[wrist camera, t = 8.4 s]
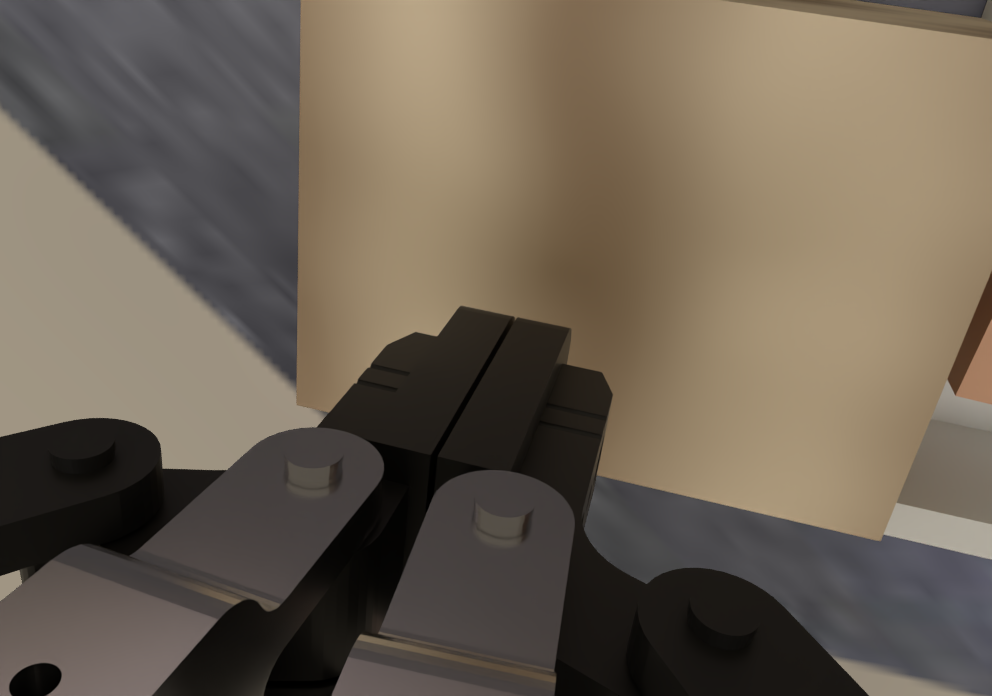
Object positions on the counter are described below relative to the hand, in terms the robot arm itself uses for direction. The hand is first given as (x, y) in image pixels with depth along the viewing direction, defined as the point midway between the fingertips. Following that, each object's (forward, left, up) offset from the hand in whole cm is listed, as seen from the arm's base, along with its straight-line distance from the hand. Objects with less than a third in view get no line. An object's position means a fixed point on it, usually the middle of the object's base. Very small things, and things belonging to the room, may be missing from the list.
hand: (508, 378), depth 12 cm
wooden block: (-1, 0, -10) cm, 10 cm away
